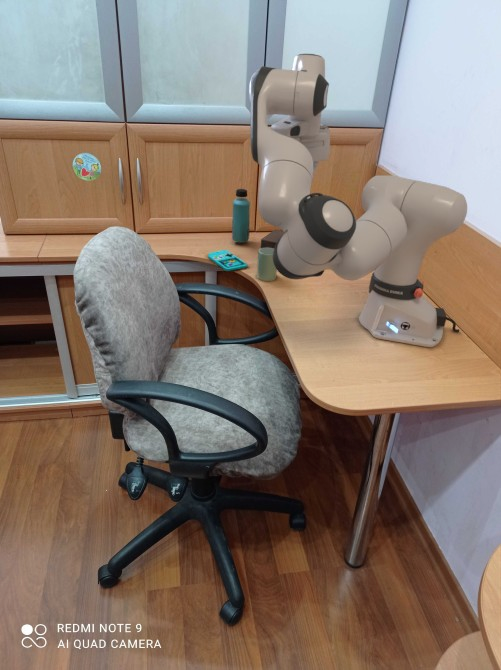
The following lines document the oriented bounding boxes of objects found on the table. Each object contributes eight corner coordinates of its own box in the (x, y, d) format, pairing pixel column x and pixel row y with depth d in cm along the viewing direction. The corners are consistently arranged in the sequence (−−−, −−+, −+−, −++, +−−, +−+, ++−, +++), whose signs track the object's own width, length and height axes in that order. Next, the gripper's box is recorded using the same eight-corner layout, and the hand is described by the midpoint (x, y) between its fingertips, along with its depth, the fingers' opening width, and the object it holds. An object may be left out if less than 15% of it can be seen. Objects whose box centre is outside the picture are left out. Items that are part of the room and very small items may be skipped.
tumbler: (278, 275, 156) (280, 249, 151) (271, 282, 151) (273, 256, 147) (261, 271, 158) (263, 245, 153) (253, 278, 153) (255, 252, 149)
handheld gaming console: (226, 248, 171) (248, 264, 160) (226, 251, 171) (248, 267, 161) (205, 253, 167) (226, 268, 156) (205, 255, 167) (226, 271, 157)
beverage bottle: (248, 246, 177) (251, 192, 166) (231, 245, 176) (232, 191, 166) (249, 240, 182) (251, 187, 171) (231, 239, 182) (233, 186, 171)
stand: (306, 254, 173) (308, 236, 169) (293, 266, 163) (295, 246, 160) (273, 247, 177) (274, 229, 173) (259, 258, 168) (261, 239, 164)
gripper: (321, 122, 132) (315, 173, 139) (265, 126, 120) (262, 182, 127) (338, 125, 128) (331, 178, 135) (282, 130, 116) (278, 187, 123)
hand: (297, 180), depth 131 cm, fingers open, 8 cm apart
